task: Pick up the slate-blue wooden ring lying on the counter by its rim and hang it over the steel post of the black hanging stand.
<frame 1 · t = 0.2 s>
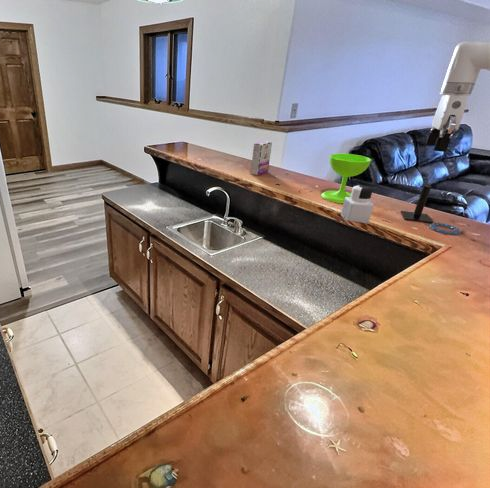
hand: (435, 148, 111), 29 cm above the counter, tool pointing down, fingers open, 9 cm apart
ring: (444, 229, 124), point 1 cm above the counter
candy bar box: (259, 173, 192), on the counter
wineglass: (340, 198, 156), on the counter
container: (353, 220, 133), on the counter
stand: (415, 219, 134), on the counter
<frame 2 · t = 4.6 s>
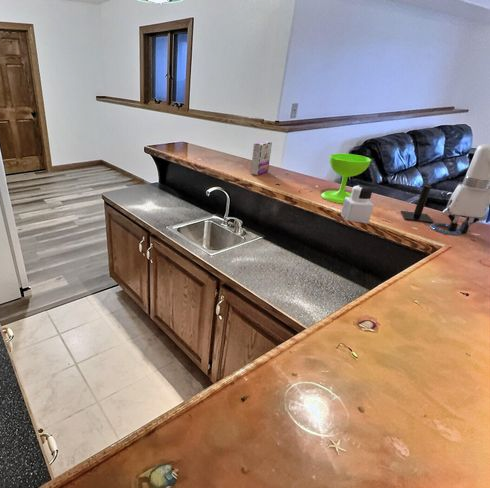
hand: (456, 233, 123), 0 cm above the counter, tool pointing down, fingers closed on ring, 2 cm apart
ring: (445, 229, 124), point 1 cm above the counter, touching gripper
everything else where it was.
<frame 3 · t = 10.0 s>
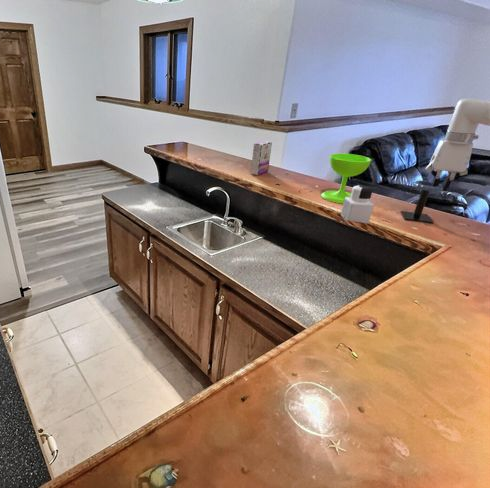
hand: (438, 189, 127), 13 cm above the counter, tool pointing down, fingers closed on ring
ring: (428, 185, 128), point 14 cm above the counter, touching gripper
everything else where it was.
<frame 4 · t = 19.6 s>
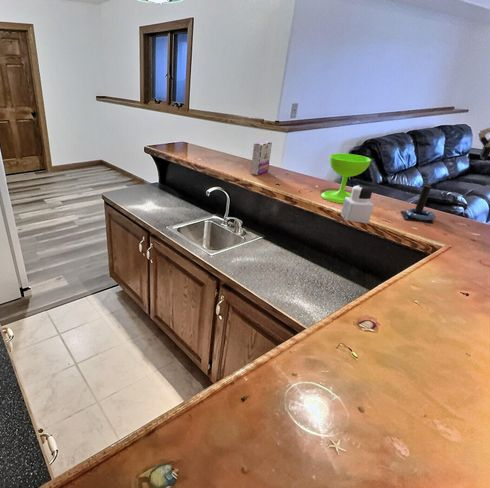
ring: (420, 214, 133), point 2 cm above the counter, touching stand
everything else where it was.
at the end: ring 1.1 cm from the stand (horizontally); ring point 2.4 cm above the counter; the gripper is holding nothing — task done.
